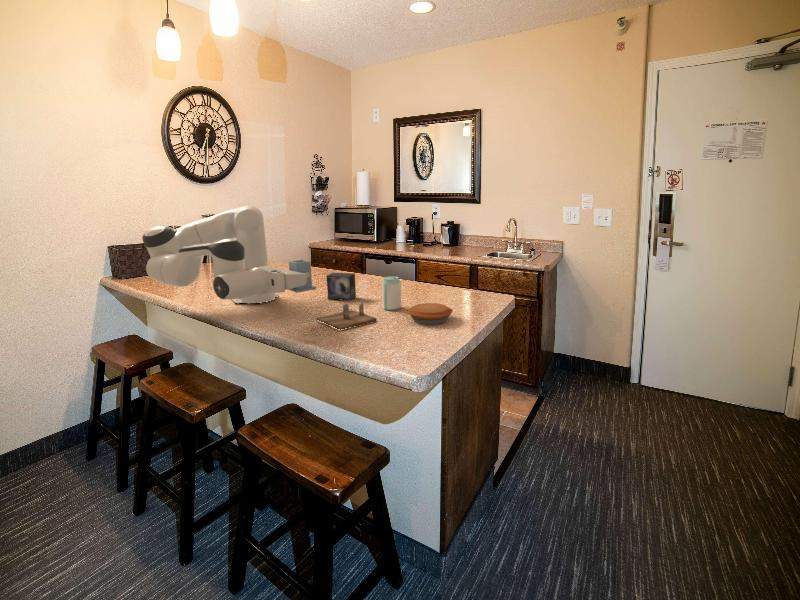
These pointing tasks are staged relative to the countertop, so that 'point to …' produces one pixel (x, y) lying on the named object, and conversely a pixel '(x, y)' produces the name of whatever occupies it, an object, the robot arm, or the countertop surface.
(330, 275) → the small box
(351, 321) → the post base
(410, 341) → the countertop surface
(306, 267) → the square pen holder
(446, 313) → the pie
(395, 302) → the can
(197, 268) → the robot arm
